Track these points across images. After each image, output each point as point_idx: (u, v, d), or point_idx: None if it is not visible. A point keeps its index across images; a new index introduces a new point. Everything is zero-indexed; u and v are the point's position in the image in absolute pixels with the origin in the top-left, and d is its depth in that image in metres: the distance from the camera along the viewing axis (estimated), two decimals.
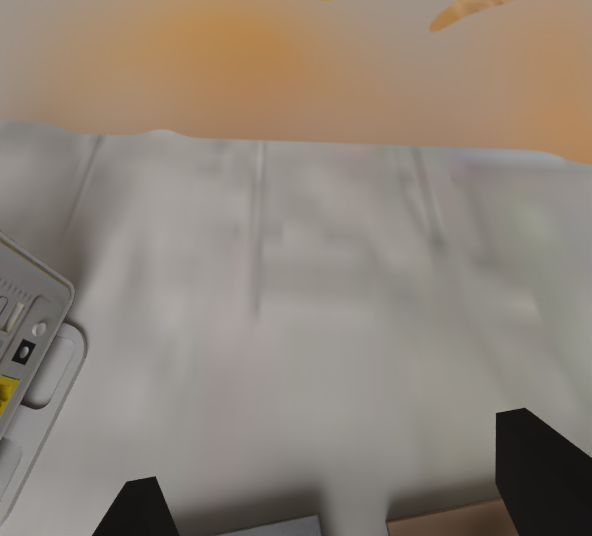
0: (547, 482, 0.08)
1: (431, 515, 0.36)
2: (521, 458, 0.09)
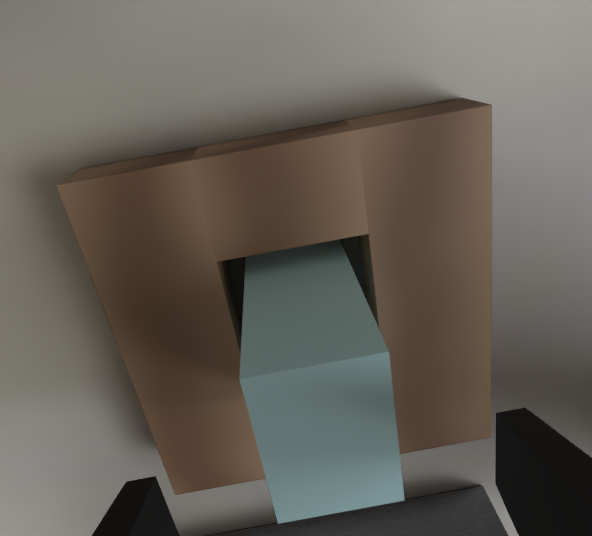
0: (547, 482, 0.08)
1: (151, 427, 0.17)
2: (521, 458, 0.09)
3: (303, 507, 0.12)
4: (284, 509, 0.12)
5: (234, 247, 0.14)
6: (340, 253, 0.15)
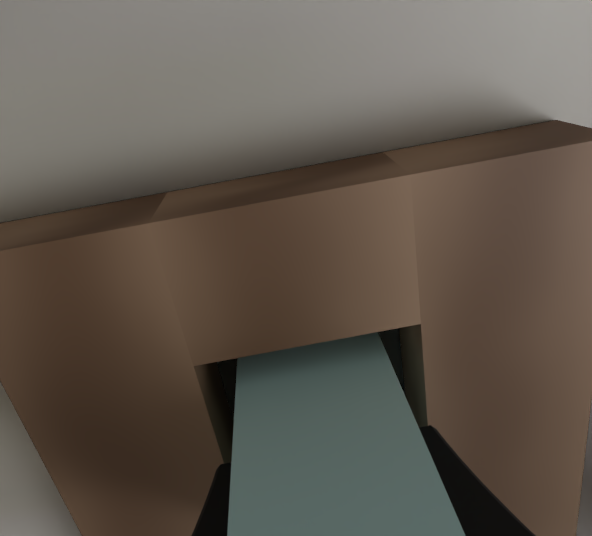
0: None
1: None
2: None
3: None
4: None
5: (220, 345, 0.10)
6: (376, 347, 0.10)
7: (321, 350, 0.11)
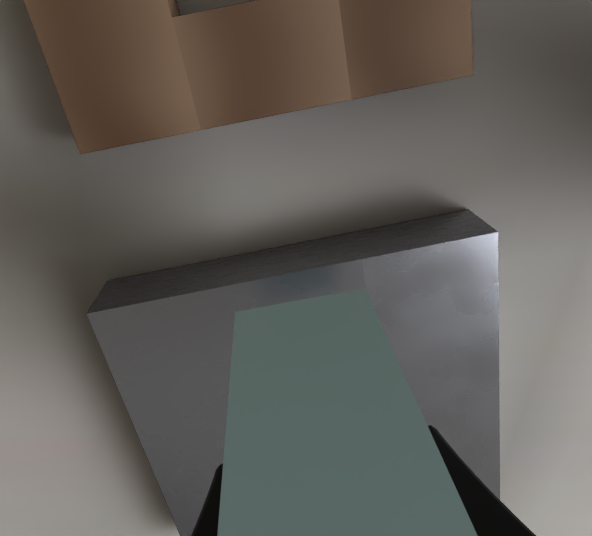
0: None
1: (38, 33, 0.13)
2: None
3: None
4: None
5: None
6: (373, 321, 0.10)
7: (317, 325, 0.11)
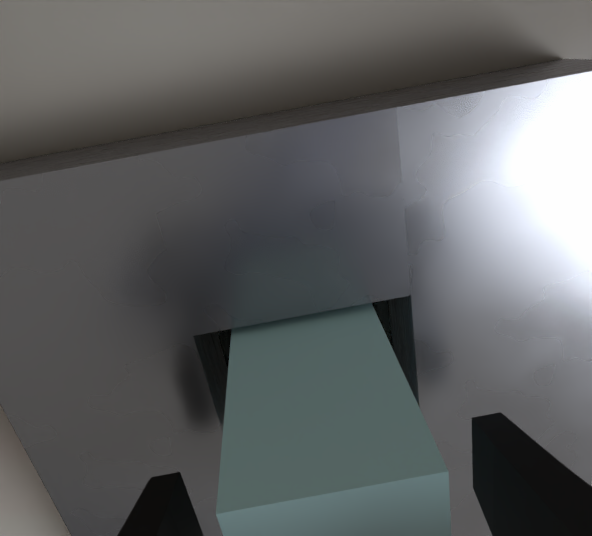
0: (517, 488, 0.08)
1: None
2: (494, 463, 0.09)
3: None
4: None
5: None
6: None
7: None
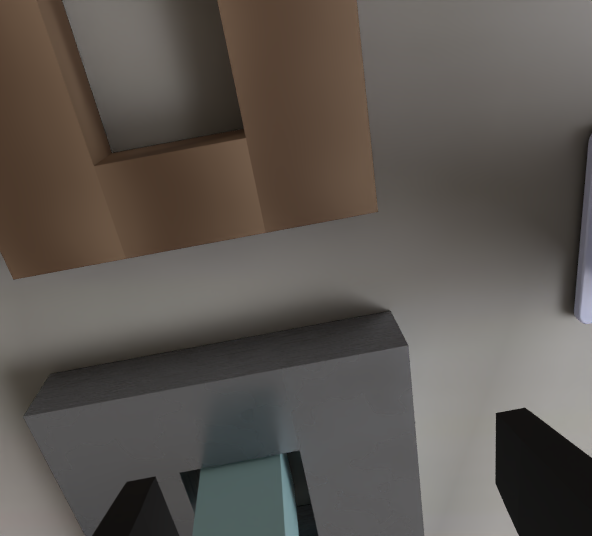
0: (547, 482, 0.08)
1: None
2: (521, 458, 0.09)
3: None
4: None
5: None
6: None
7: None
